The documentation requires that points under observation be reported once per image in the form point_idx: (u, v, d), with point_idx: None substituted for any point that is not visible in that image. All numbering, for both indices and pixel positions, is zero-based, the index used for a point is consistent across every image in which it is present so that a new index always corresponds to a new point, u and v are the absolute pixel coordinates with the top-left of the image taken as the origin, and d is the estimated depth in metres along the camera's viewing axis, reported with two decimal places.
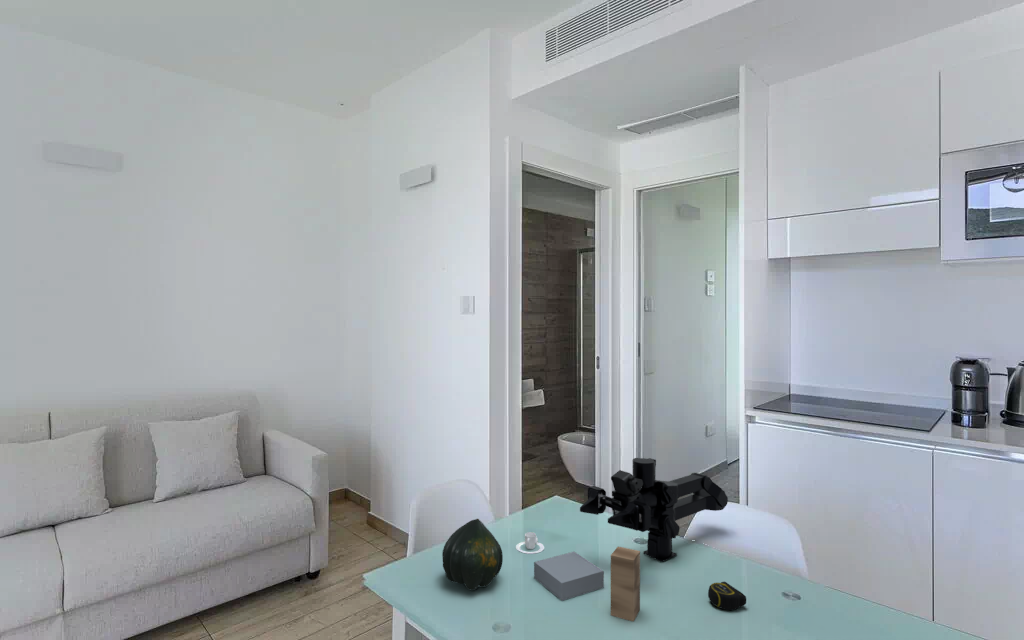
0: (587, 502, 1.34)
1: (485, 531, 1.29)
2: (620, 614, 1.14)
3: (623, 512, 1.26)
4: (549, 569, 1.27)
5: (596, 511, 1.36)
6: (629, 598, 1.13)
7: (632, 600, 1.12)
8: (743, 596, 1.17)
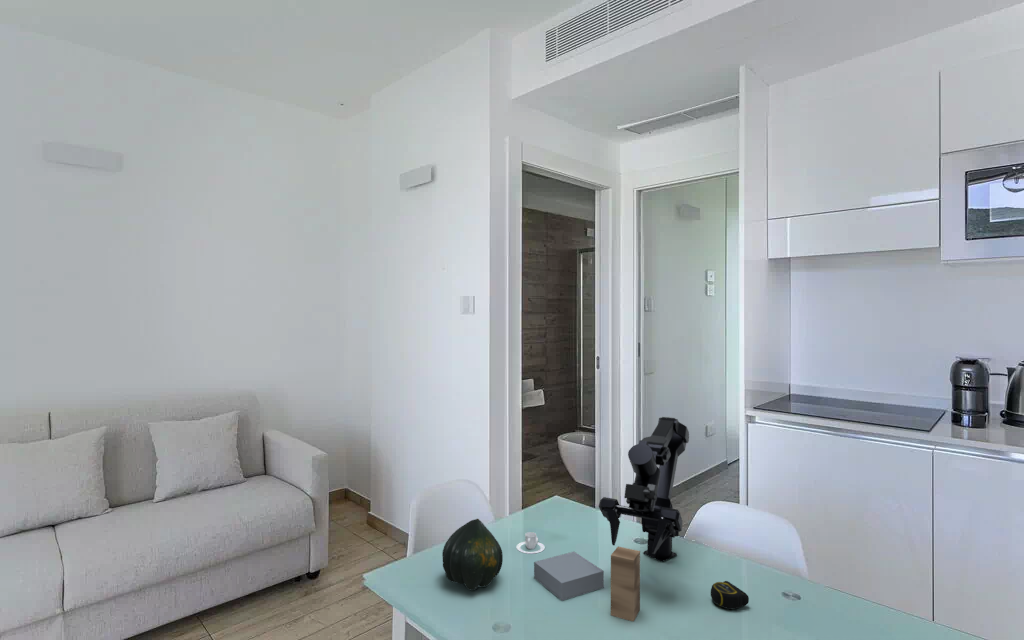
0: (613, 530, 1.24)
1: (485, 531, 1.29)
2: (620, 614, 1.14)
3: (659, 533, 1.19)
4: (549, 569, 1.27)
5: (618, 523, 1.28)
6: (629, 598, 1.13)
7: (632, 600, 1.12)
8: (745, 595, 1.17)
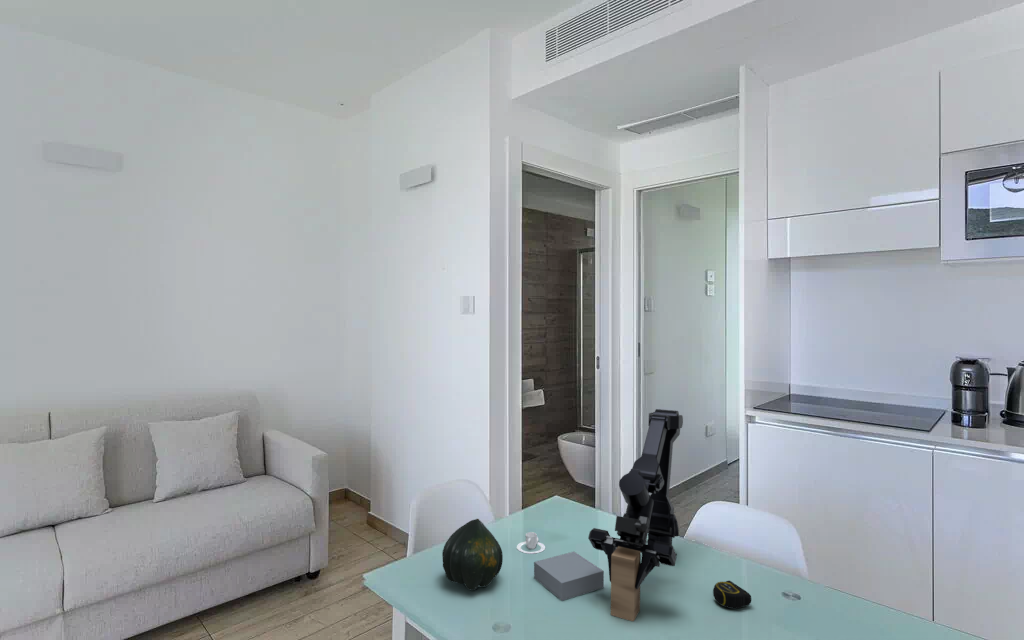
0: None
1: (485, 531, 1.29)
2: (620, 614, 1.13)
3: (643, 566, 1.14)
4: (549, 569, 1.27)
5: None
6: (629, 597, 1.13)
7: (632, 600, 1.12)
8: (748, 595, 1.17)
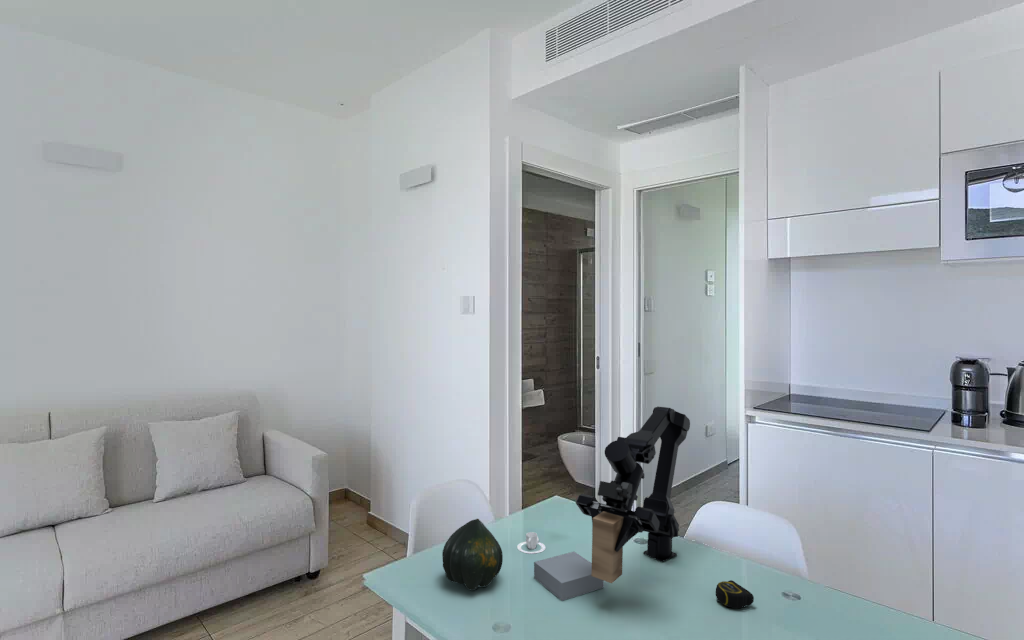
0: None
1: (485, 531, 1.29)
2: (600, 575, 1.17)
3: (623, 530, 1.17)
4: (549, 569, 1.27)
5: None
6: (608, 560, 1.15)
7: (611, 562, 1.15)
8: (750, 595, 1.17)
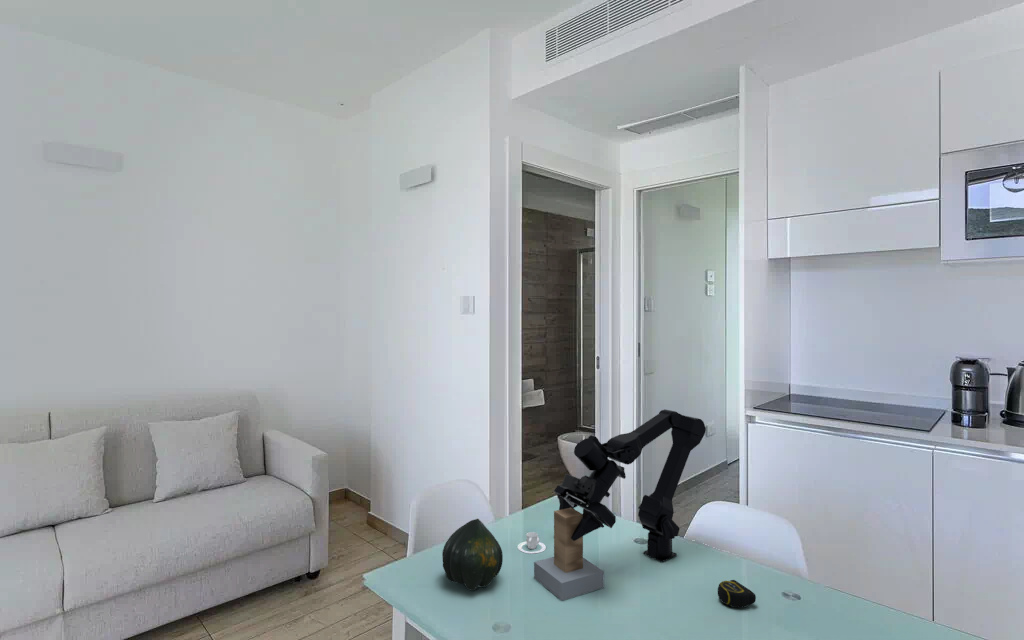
0: None
1: (485, 531, 1.29)
2: (558, 564, 1.28)
3: (581, 522, 1.25)
4: (549, 569, 1.27)
5: None
6: (563, 551, 1.26)
7: (564, 553, 1.25)
8: (752, 594, 1.18)
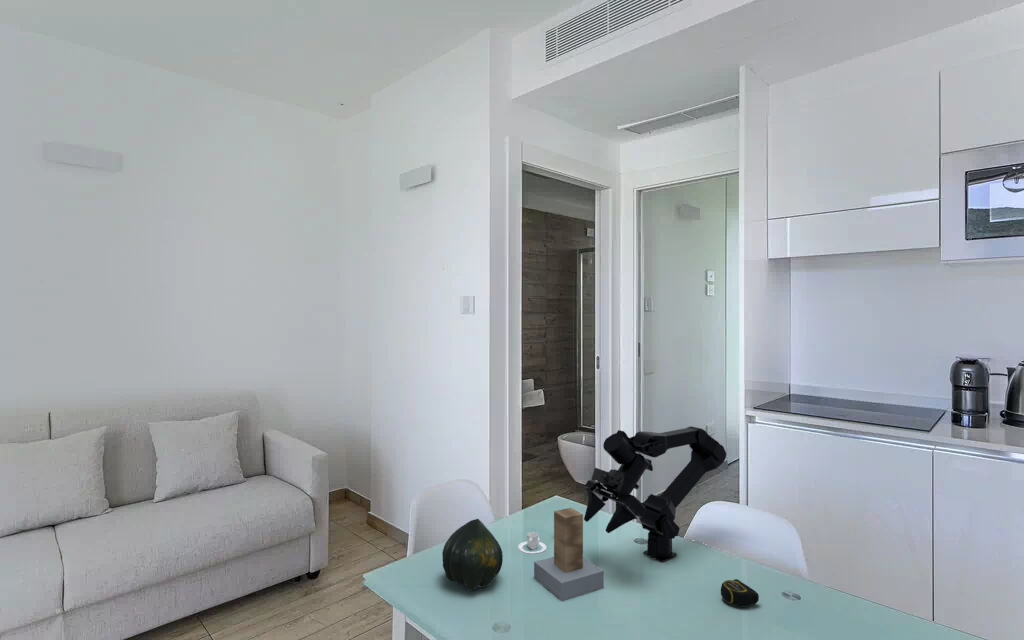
0: (588, 508, 1.38)
1: (485, 531, 1.29)
2: (558, 564, 1.28)
3: (615, 514, 1.28)
4: (549, 569, 1.27)
5: (601, 504, 1.40)
6: (563, 551, 1.26)
7: (564, 553, 1.25)
8: (756, 593, 1.18)
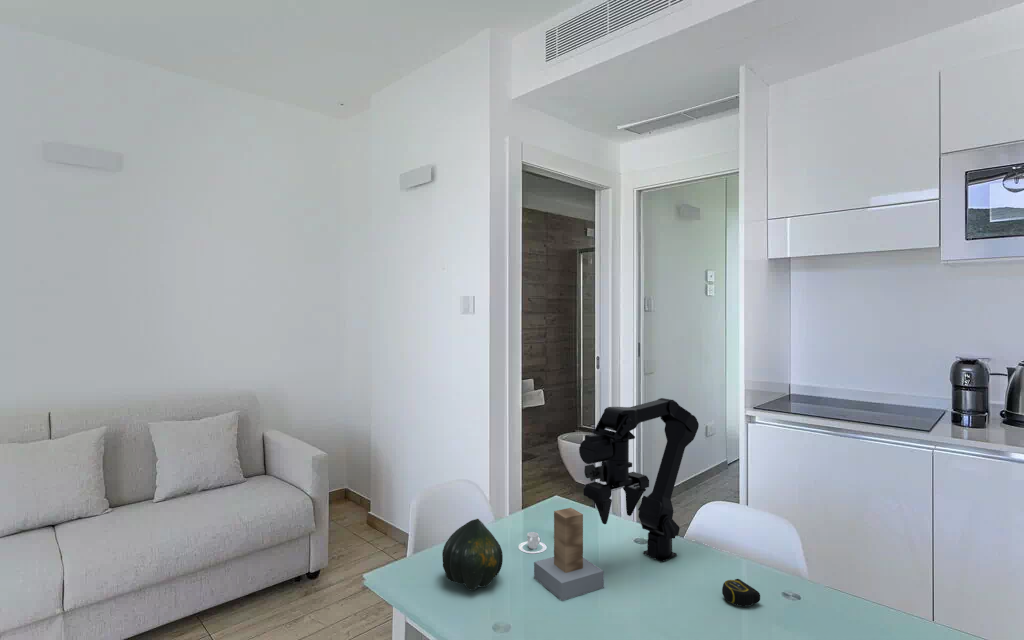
0: None
1: (485, 531, 1.29)
2: (558, 564, 1.28)
3: None
4: (549, 569, 1.27)
5: (636, 493, 1.36)
6: (563, 551, 1.26)
7: (564, 553, 1.25)
8: (757, 593, 1.18)
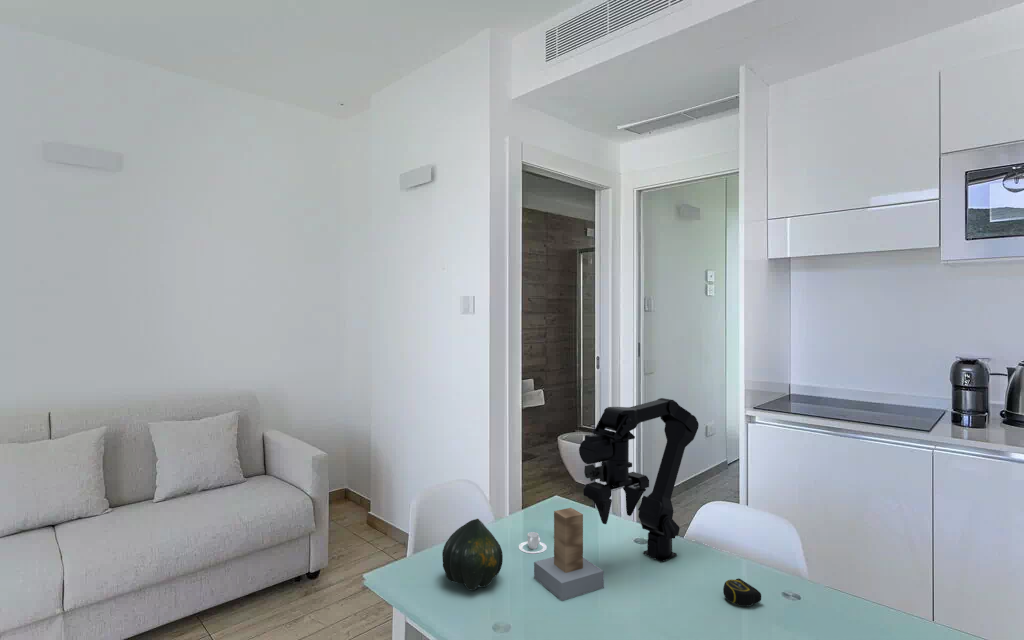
0: None
1: (485, 531, 1.29)
2: (558, 564, 1.28)
3: None
4: (549, 569, 1.27)
5: (636, 493, 1.36)
6: (563, 551, 1.26)
7: (564, 553, 1.25)
8: (758, 593, 1.18)
